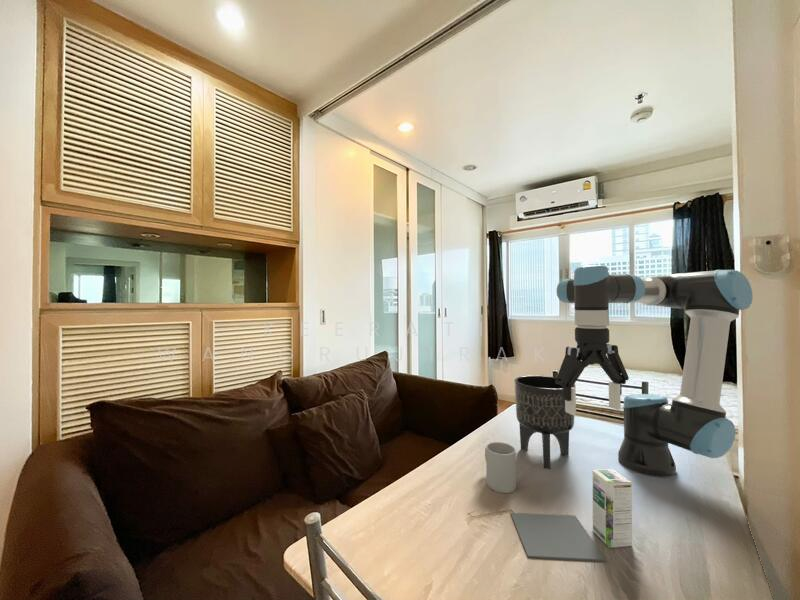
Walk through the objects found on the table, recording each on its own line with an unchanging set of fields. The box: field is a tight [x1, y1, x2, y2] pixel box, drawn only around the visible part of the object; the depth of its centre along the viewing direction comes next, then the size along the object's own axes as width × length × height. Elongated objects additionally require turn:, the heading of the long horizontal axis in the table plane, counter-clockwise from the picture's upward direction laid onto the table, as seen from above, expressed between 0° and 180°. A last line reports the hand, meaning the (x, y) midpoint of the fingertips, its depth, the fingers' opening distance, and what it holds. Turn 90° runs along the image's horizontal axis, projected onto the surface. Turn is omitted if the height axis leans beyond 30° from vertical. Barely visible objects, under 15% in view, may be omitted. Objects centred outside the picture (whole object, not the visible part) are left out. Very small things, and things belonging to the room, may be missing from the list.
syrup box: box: [592, 468, 633, 549], centre depth 74 cm, size 6×6×14 cm
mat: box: [510, 512, 607, 563], centre depth 75 cm, size 16×14×1 cm
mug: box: [484, 441, 517, 494], centre depth 97 cm, size 12×8×11 cm
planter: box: [514, 375, 576, 470], centre depth 113 cm, size 20×20×26 cm
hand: (593, 410), depth 81 cm, fingers open, 13 cm apart
